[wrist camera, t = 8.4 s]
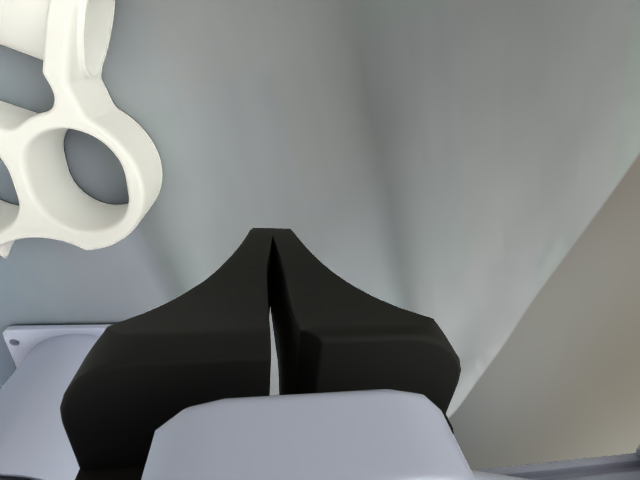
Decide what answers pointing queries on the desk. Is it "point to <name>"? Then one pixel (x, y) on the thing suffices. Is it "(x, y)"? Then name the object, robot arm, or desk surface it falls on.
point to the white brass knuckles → (69, 113)
